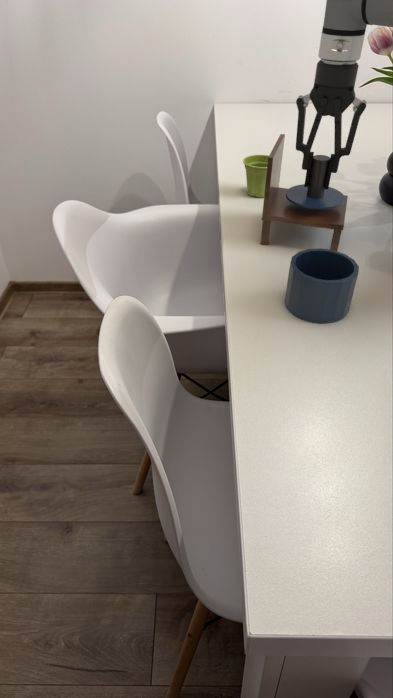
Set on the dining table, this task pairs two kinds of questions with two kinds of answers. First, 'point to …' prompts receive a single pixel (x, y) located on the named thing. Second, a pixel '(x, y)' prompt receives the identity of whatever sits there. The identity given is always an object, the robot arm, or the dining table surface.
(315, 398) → the dining table surface
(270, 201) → the wooden toy chair
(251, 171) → the plant pot
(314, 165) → the lid
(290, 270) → the pot
